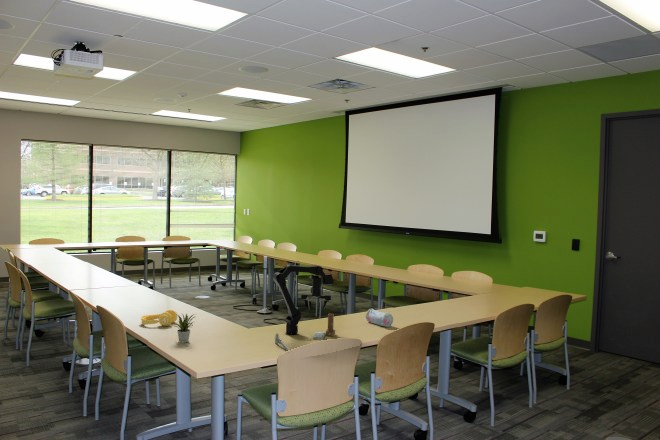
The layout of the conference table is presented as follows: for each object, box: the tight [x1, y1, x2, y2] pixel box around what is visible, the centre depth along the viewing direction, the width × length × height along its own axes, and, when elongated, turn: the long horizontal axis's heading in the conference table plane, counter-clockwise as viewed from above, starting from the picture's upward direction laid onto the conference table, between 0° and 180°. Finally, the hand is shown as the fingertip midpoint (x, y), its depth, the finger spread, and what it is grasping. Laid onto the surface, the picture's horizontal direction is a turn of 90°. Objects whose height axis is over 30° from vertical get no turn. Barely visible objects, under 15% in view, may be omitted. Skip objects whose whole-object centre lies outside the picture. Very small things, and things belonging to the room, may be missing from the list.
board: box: [312, 331, 326, 340], centre depth 310 cm, size 6×13×1 cm, turn 175°
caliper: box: [274, 333, 291, 352], centre depth 283 cm, size 20×1×6 cm, turn 28°
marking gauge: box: [325, 312, 336, 337], centre depth 313 cm, size 5×6×13 cm
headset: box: [140, 309, 178, 327], centre depth 333 cm, size 18×21×9 cm
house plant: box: [173, 313, 196, 343], centre depth 293 cm, size 14×14×16 cm
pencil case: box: [365, 308, 394, 328], centre depth 345 cm, size 21×9×10 cm, turn 32°
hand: (316, 310), depth 322 cm, fingers open, 9 cm apart
